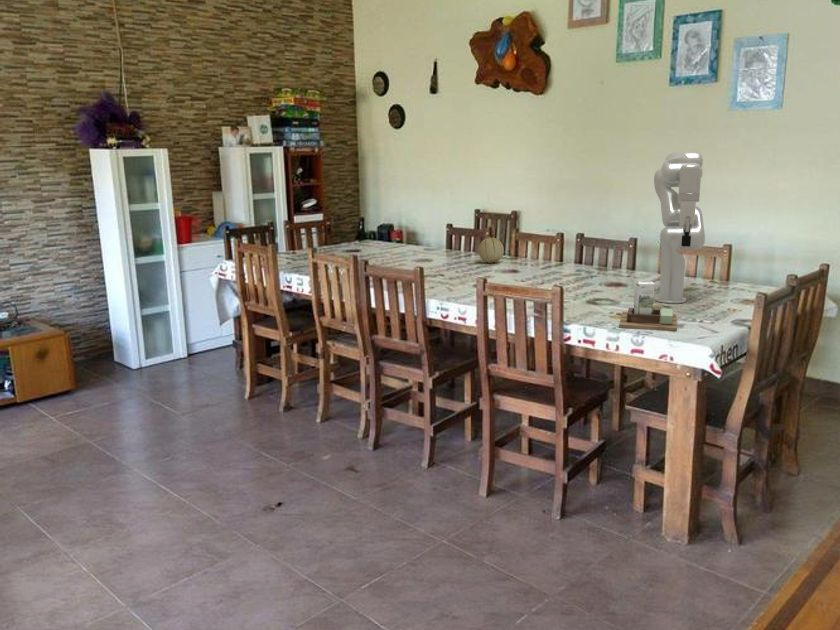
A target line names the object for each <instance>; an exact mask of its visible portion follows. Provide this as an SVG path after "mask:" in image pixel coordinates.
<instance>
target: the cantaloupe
mask: <svg viewBox="0 0 840 630" xmlns="http://www.w3.org/2000/svg"><path fill="white" fill-rule="evenodd" d="M504 249H505V248H504V245H503V243H502V241H501V240H499V238H496V237H491V236H487V238H484V239H483V240H481V242H480V243H479V245H478V248H477V251H478V256H479V258H480V259H481V260H482V261H484V262H485V263H487V262H488V263H487V264H494V263H493V262H495V263H497V262H499V261H500V260H502V258H503V257H504V253H505V250H504Z"/></svg>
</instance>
